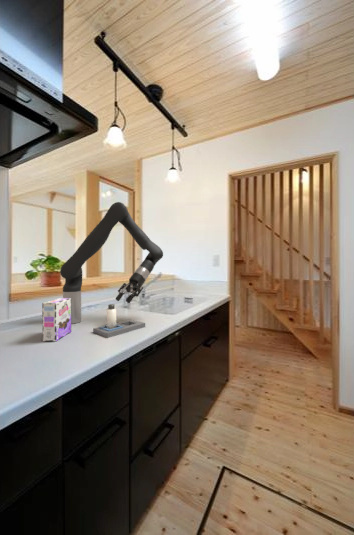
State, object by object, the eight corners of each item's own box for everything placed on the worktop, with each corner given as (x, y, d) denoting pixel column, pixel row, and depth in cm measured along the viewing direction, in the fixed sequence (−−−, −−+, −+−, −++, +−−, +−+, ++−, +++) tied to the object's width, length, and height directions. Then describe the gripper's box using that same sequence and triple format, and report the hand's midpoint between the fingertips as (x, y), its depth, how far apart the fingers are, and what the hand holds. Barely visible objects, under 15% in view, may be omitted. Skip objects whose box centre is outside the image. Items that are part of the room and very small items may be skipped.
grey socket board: (93, 332, 107) (93, 327, 107) (130, 322, 124) (130, 318, 124) (107, 337, 99) (107, 332, 99) (145, 326, 116) (145, 321, 116)
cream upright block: (104, 332, 107) (104, 304, 107) (112, 330, 111) (112, 303, 111) (110, 334, 105) (110, 305, 104) (118, 331, 108) (118, 304, 108)
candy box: (55, 341, 94) (55, 302, 94) (42, 341, 95) (41, 302, 94) (72, 331, 108) (71, 297, 108) (59, 331, 108) (59, 297, 108)
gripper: (127, 271, 123) (109, 295, 114) (144, 272, 114) (126, 297, 105) (135, 280, 127) (117, 304, 119) (152, 282, 118) (135, 307, 109)
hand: (122, 301), depth 112 cm, fingers open, 8 cm apart
